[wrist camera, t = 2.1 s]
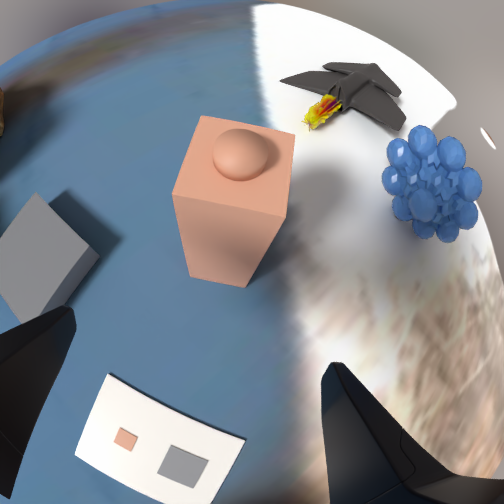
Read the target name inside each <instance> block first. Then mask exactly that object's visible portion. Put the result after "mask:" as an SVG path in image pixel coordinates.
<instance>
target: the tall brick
mask: <svg viewBox="0 0 504 504" xmlns="http://www.w3.org/2000/svg"><path fill="white" fill-rule="evenodd" d="M294 142H295V135H294V134H290V133H286V132H282V131H278V130H273V129H269V128H265V127H260V126H256V125H251V124H246V123H241V122H236V121H231V120H225V119H219V118H213V117H207V116H201V118H200V120H199V123H198V125H197V128H196V130H195V133H194V135H193V138H192V140H191V143H190V145H189V148H188V151H187V153H186V156H185V159H184V161H183V164H182V167H181V169H180V172H179V175H178V178H177V181H176V184H175V187H174V190H173V192H172V197H173V202H174V207H175V212H176V217H177V222H178V226H179V231H180V235H181V240H182V244H183V248H184V253H185V257H186V261H187V265H188V269H189V273H190V277H194V278H198V279H203V280H208V281H213V282H218V283H223V284H228V285H233V286H238V287H243V288H245V287H246V285H247V284H248V282H249V280H250V279H251V277H252V275H253V273H254V272H255V270H256V268H257V266H258V265H259V263H260V261H261V260H262V258H263V256H264V254H265V253H266V251H267V249H268V248H269V246H270V244H271V242H272V241H273V239H274V237H275V235H276V234H277V232H278V230H279V228H280V227H281V225H282V223H283V221H284V220H285V218H286V211H287V203H288V195H289V187H290V178H291V169H292V160H293V151H294Z"/></svg>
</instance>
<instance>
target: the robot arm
mask: <svg viewBox="0 0 504 504" xmlns="http://www.w3.org/2000/svg"><path fill="white" fill-rule="evenodd" d="M75 332H76V320H75V315H74V310H73V309H72V308H71V307H68V306H65V305H61V306H59V307H57V308H55V309H53V310H50V311H48V312H46V313H44V314H42V315H40V316H38V317H35V318H33V319H31V320H29V321H27V322H25V323H23V324H21V325H19V326H17V327H14V328H12V329H10V330H8V331H6V332H4V333H2V334H0V494H1V495H3V496H5V497H6V498H8V499H10V497H11V494H12V491H13V487H14V484H15V480H16V477H17V474H18V471H19V468H20V465H21V462H22V459H23V455H24V453H25V450H26V447H27V444H28V442H29V439H30V437H31V434H32V432H33V429H34V427H35V424H36V422H37V419H38V417H39V415H40V412H41V410H42V408H43V405H44V403H45V401H46V399H47V397H48V394H49V392H50V390H51V388H52V386H53V384H54V382H55V380H56V378H57V376H58V374H59V372H60V369H61V367H62V365H63V363H64V360H65V358H66V355H67V352H68V350H69V347H70V345H71V342H72V340H73V337H74V335H75ZM321 415H322V428H323V436H324V445H325V454H326V463H327V473H328V484H329V495H330V504H504V479H487V478H476V477H467V476H461V475H457V474H454V473H452V472H451V471H449V470H448V469H446V468H445V467H444V466H443V465H442V464H441V463H439V462H438V461H437V460H436V459H435V458H434V457H432V456H431V455H430V454H429V453H428V452H427V451H426V450H425V449H423V448H422V447H421V446H420V445H419V444H418V443H417V442H416V441H415V440H414V439H413V438H412V437H411V436H410V435H409V434H408V433H407V432H406V431H405V429H402V426H401V425H400V424H399V423H398V422H397V421H396V420H395V419H394V418H393V417H392V416H391V414H390V413H389V412H388V411H387V410H386V409H385V408H384V407H383V406H382V405H381V404H380V403H379V401H378V400H377V399H376V398H375V397H374V396H373V395H372V394H371V393H370V392H369V391H368V390H367V388H366V387H365V386H364V385H363V384H362V383H361V382H360V381H359V380H358V379H357V378H356V376H355V375H354V374H353V373H352V372H351V371H350V370H349V369H348V368H347V367H346V366H345V364H343V363H341V362H331V363H330V365H329V366H328V368H327V370H326V372H325V373H324V375H323V377H322V380H321Z"/></svg>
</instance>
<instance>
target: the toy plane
mask: <svg viewBox="0 0 504 504" xmlns="http://www.w3.org/2000/svg"><path fill="white" fill-rule="evenodd" d="M322 67H324V68H327V69H330V70H334V71H337V72H325V71H308V72H304V73H301V74H297V75H294V76H291V77H288V78H285V79H282V80H280V82H282V83H285V84H289V85H292V86H296V87H299V88H303V89H306V90H309V91H313V92H316V93H319V94H322V95H324V96H323V97H322V99H321V101H320V103H319V102H318V103H317V104H318V105H317V104H315V105H314V106H315V107H314V106H311V107H310V109H309V112H308V113H307V114H306V115H305V116H304V117H305V118H304V120H305V122H304V121H301V122H304V123H306V125H308V124H309V131H310V128H311V129H315V128H317V127H318V126H319V125H320V124H321V123H325V119H327V118H329V117H330V116H331V115H332V114H333V113H334V111H335V112H337V111H339V112H343V111H344V110H345V109H347V108H348V107H353V108H356V109H358V110H360V111H362V112H364V113H366V114H368V115H369V116H371V117H373V118H375V119H376V120H378V121H380V122H382V123H383V124H385V125H387V126H389V127H390V128H392V129H394V130H397V131H399V130H400V128H401V127H402V125H403V123H404V122H405V120H406V116H405V115H404V113H403V112H402V111H401V109H400V108H399V107H398V106H397V104H396V103H395V102H394V101H393V100H392V99H391V97H390V96H389V95H388V94H387V93H386V92H388V93H389V94H391V95H393V96H395V97H399V96H400V94H401V93H402V92H401V90H400V89H399V88H398V86H397V85H396V84H395V83H394V82H393V81H392V80H391V79H390V78H389V77H388V76H387V75H386V74H385V73H384V72H383V71H382V70H381V69H380V68H379V66H378V65H377V64H375V63H371V64H360V63H342V62H331V63H327V64H325V65H323V66H322ZM385 91H386V92H385ZM319 123H320V124H319Z"/></svg>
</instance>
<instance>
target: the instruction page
mask: <svg viewBox="0 0 504 504" xmlns="http://www.w3.org/2000/svg"><path fill="white" fill-rule="evenodd" d="M244 442H245V440H242V439H240V438H237V437H234V436H232V435H229V434H226V433H224V432H221V431H219V430H216V429H214V428H212V427H209V426H207V425H204V424H202V423H200V422H198V421H195V420H193V419H191V418H189V417H187V416H184V415H182V414H180V413H178V412H176V411H174V410H172V409H170V408H168V407H166V406H164V405H162V404H160V403H158V402H156V401H154V400H153V399H151V398H149V397H147V396H145V395H143V394H142V393H140V392H138V391H136V390H135V389H133V388H131V387H129V386H128V385H126V384H124V383H123V382H121V381H119V380H118V379H116V378H115V377H113V376H111V375H110V374H107V376H106V378H105V381H104V383H103V385H102V387H101V390H100V392H99V394H98V397H97V399H96V401H95V404H94V406H93V409H92V411H91V413H90V416H89V418H88V421H87V423H86V426H85V428H84V431H83V433H82V436H81V439H80V441H79V444H78V447H77V449H76V452H75V455H76V456H78V457H79V458H81V459H82V460H84V461H85V462H87V463H88V464H90V465H92V466H93V467H95V468H96V469H98V470H100V471H101V472H103V473H105V474H107V475H108V476H110V477H112V478H114V479H115V480H117V481H119V482H121V483H123V484H125V485H127V486H128V487H130V488H132V489H134V490H136V491H138V492H141V493H143V494H145V495H147V496H149V497H151V498H153V499H156V500H158V501H160V502H163V503H165V504H210V503H211V502H212V500H213V498H214V497H215V495H216V493H217V491H218V490H219V488H220V486H221V485H222V483H223V481H224V479H225V477H226V476H227V474H228V472H229V470H230V469H231V467H232V465H233V463H234V461H235V459H236V458H237V456H238V454H239V452H240V450H241V448H242V446H243V444H244Z"/></svg>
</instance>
